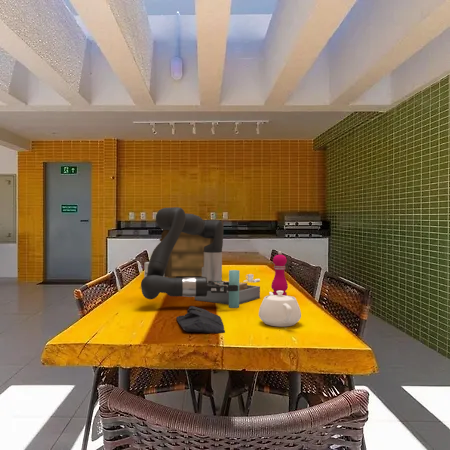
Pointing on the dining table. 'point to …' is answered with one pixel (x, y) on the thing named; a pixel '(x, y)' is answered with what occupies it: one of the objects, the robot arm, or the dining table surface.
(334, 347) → the dining table surface
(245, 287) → the bore block
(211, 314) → the dark gray crumpled cloth
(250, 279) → the teacup and saucer
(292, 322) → the teapot
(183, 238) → the crate
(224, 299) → the tray
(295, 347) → the dining table surface
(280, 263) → the pepper mill
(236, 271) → the peg
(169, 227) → the robot arm
